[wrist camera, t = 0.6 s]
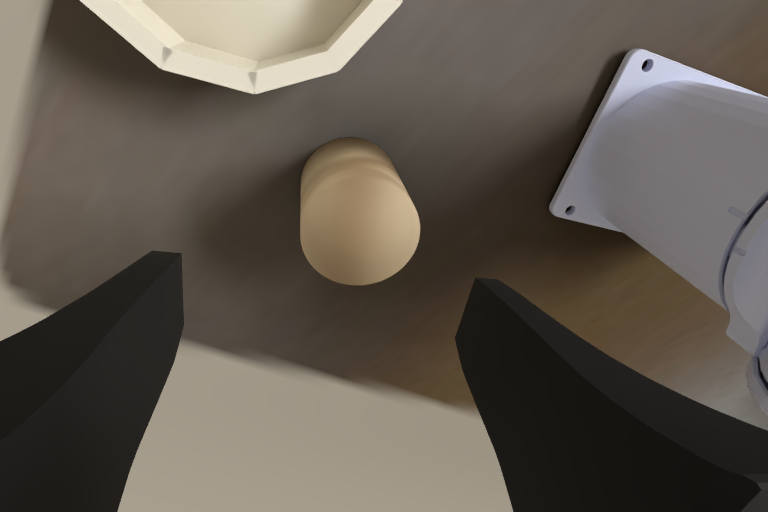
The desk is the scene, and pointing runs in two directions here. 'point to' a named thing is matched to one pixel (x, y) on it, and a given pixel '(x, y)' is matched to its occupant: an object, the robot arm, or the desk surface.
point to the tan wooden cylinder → (355, 213)
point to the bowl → (246, 36)
